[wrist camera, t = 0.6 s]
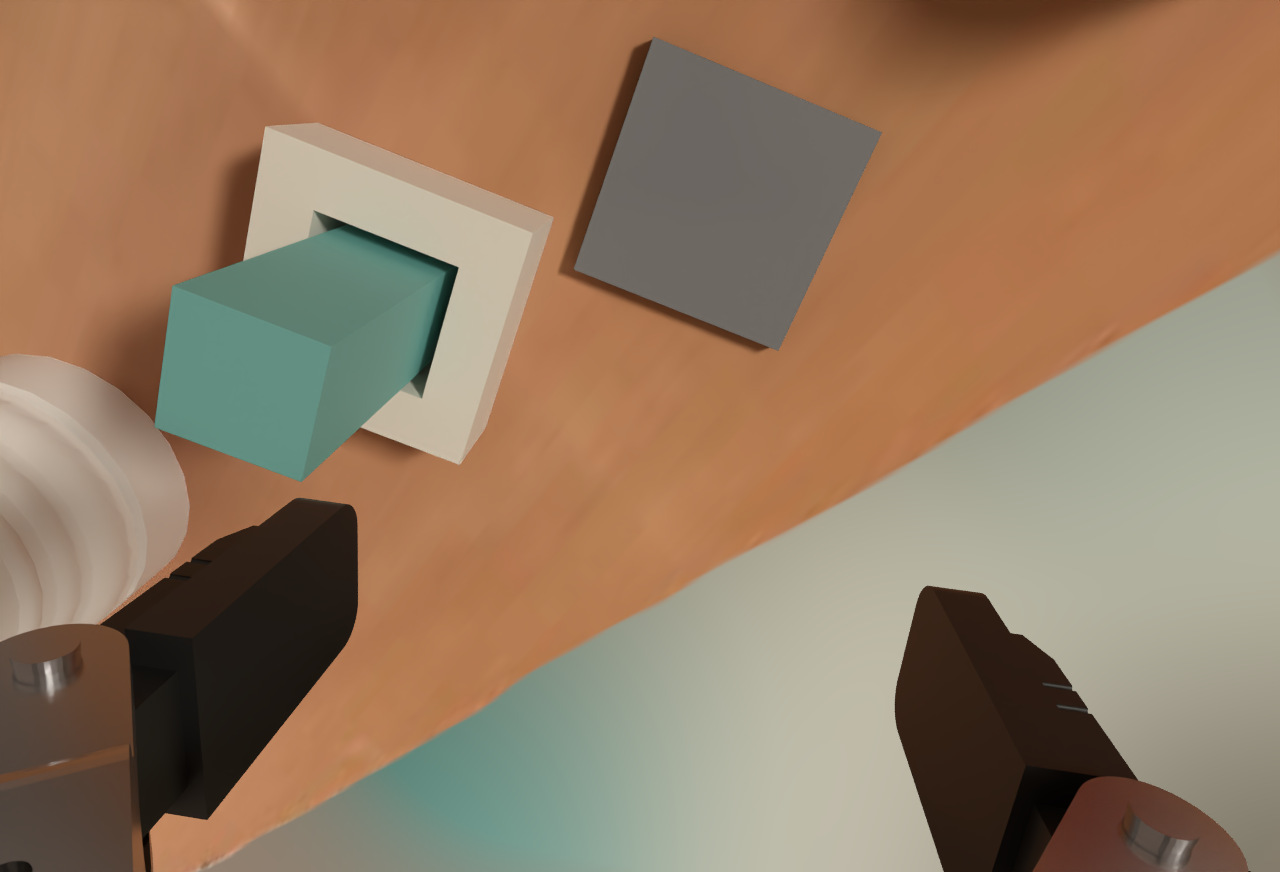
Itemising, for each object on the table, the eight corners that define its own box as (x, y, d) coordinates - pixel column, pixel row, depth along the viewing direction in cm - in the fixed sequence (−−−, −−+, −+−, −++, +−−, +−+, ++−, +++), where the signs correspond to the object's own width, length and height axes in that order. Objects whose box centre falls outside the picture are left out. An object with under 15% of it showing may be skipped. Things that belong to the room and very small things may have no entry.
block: (370, 216, 33) (172, 285, 21) (470, 256, 33) (331, 346, 21) (347, 312, 35) (154, 427, 23) (443, 349, 35) (301, 481, 23)
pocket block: (317, 122, 32) (265, 126, 28) (554, 217, 32) (533, 232, 29) (274, 347, 36) (224, 375, 32) (485, 427, 36) (459, 464, 33)
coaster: (655, 38, 29) (653, 36, 29) (877, 131, 30) (881, 132, 29) (576, 265, 33) (573, 269, 32) (777, 345, 34) (778, 350, 33)
